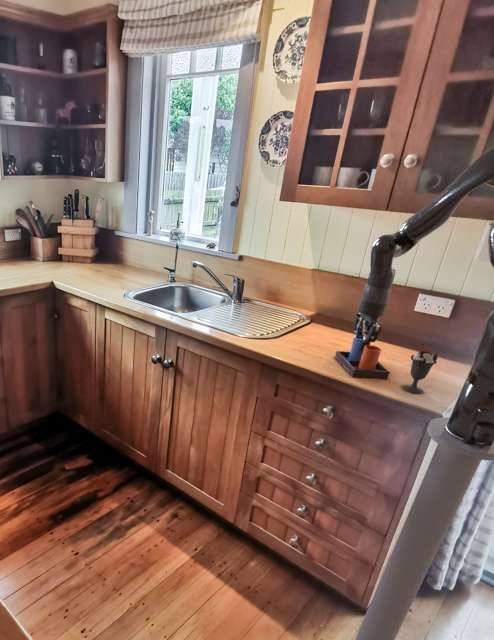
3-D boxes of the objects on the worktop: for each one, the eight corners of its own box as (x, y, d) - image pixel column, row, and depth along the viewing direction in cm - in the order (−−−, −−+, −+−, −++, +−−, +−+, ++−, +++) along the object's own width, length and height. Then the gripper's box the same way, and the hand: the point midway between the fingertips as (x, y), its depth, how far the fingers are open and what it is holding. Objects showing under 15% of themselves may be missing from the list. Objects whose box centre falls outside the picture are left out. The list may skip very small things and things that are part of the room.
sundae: (396, 388, 141) (412, 342, 135) (406, 382, 145) (422, 338, 138) (419, 397, 137) (437, 350, 130) (428, 391, 140) (446, 345, 134)
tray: (387, 379, 147) (389, 371, 146) (352, 377, 147) (354, 369, 146) (366, 359, 160) (368, 352, 159) (334, 357, 160) (336, 350, 159)
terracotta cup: (376, 374, 148) (384, 351, 144) (361, 373, 148) (368, 350, 144) (369, 368, 152) (377, 345, 148) (355, 367, 152) (362, 344, 149)
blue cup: (366, 363, 154) (372, 340, 151) (351, 362, 154) (358, 339, 151) (360, 358, 158) (366, 335, 155) (345, 357, 158) (351, 334, 155)
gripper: (397, 306, 140) (381, 358, 148) (376, 293, 153) (362, 341, 161) (372, 305, 141) (357, 356, 148) (353, 292, 153) (340, 339, 161)
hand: (359, 348), depth 154 cm, fingers closed on blue cup, 5 cm apart
